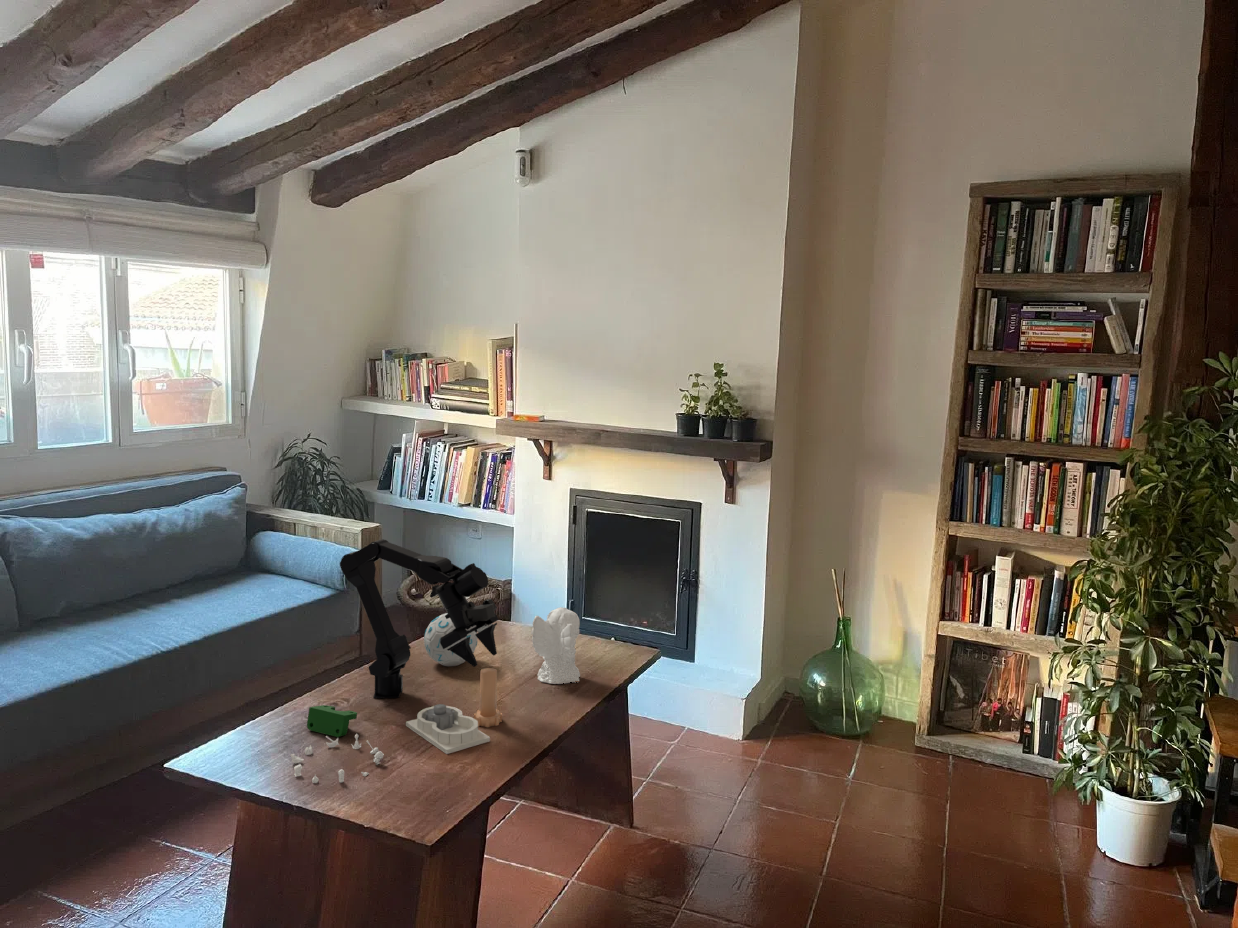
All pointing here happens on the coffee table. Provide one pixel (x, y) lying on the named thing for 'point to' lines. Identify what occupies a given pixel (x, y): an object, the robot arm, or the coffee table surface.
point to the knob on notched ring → (488, 699)
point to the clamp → (329, 720)
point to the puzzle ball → (434, 648)
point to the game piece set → (333, 744)
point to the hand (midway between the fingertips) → (485, 660)
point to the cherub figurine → (557, 645)
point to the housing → (447, 728)
